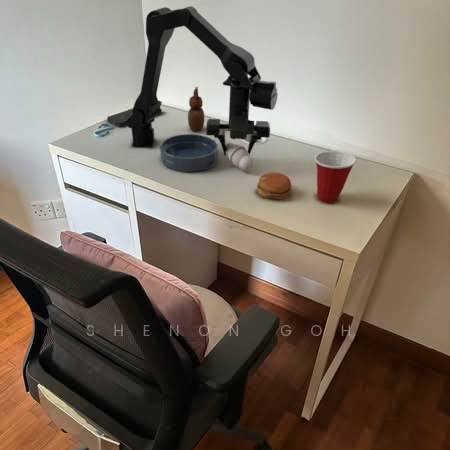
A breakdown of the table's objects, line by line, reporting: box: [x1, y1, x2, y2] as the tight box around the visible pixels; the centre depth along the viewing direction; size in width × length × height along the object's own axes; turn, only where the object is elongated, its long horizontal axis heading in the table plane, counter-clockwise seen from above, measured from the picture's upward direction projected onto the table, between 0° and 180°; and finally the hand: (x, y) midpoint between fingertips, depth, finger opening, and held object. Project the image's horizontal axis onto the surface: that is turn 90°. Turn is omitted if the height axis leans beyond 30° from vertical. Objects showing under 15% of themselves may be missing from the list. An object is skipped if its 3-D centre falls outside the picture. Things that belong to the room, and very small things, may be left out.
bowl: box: [159, 133, 219, 172], centre depth 132 cm, size 18×18×4 cm
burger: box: [256, 171, 292, 200], centre depth 118 cm, size 10×9×5 cm
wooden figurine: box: [187, 86, 205, 133], centre depth 145 cm, size 7×6×15 cm
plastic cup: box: [314, 150, 357, 204], centre depth 114 cm, size 11×11×12 cm
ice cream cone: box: [225, 140, 255, 172], centre depth 129 cm, size 6×6×15 cm
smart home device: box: [106, 108, 162, 128], centre depth 157 cm, size 8×2×20 cm
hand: (236, 155), depth 130 cm, fingers closed on ice cream cone, 7 cm apart
